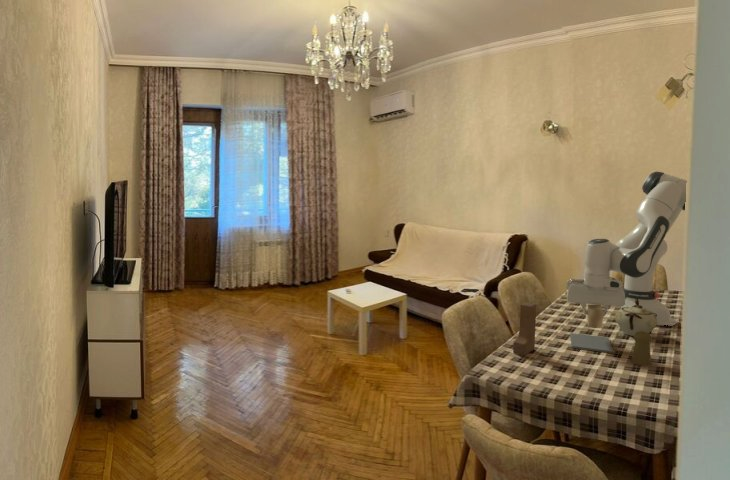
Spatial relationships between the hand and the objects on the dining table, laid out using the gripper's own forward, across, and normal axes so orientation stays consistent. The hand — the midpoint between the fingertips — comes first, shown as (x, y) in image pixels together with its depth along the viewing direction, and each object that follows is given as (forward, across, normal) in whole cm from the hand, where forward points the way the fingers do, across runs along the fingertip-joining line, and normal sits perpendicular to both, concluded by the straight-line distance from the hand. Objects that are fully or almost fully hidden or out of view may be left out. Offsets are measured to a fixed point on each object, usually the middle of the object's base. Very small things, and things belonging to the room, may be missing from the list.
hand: (594, 314), depth 168 cm
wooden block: (+12, -25, -18) cm, 33 cm away
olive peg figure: (+12, +14, -13) cm, 23 cm away
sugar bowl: (+12, +18, +20) cm, 29 cm away
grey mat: (+12, -1, 0) cm, 12 cm away
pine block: (0, 0, +8) cm, 8 cm away
